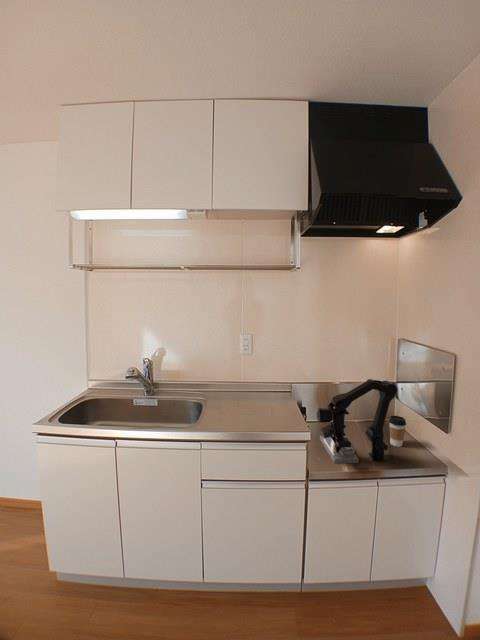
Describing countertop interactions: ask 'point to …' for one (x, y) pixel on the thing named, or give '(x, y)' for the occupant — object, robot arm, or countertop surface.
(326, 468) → the countertop surface
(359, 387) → the robot arm
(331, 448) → the slider knob
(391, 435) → the coffee cup
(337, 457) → the control panel
